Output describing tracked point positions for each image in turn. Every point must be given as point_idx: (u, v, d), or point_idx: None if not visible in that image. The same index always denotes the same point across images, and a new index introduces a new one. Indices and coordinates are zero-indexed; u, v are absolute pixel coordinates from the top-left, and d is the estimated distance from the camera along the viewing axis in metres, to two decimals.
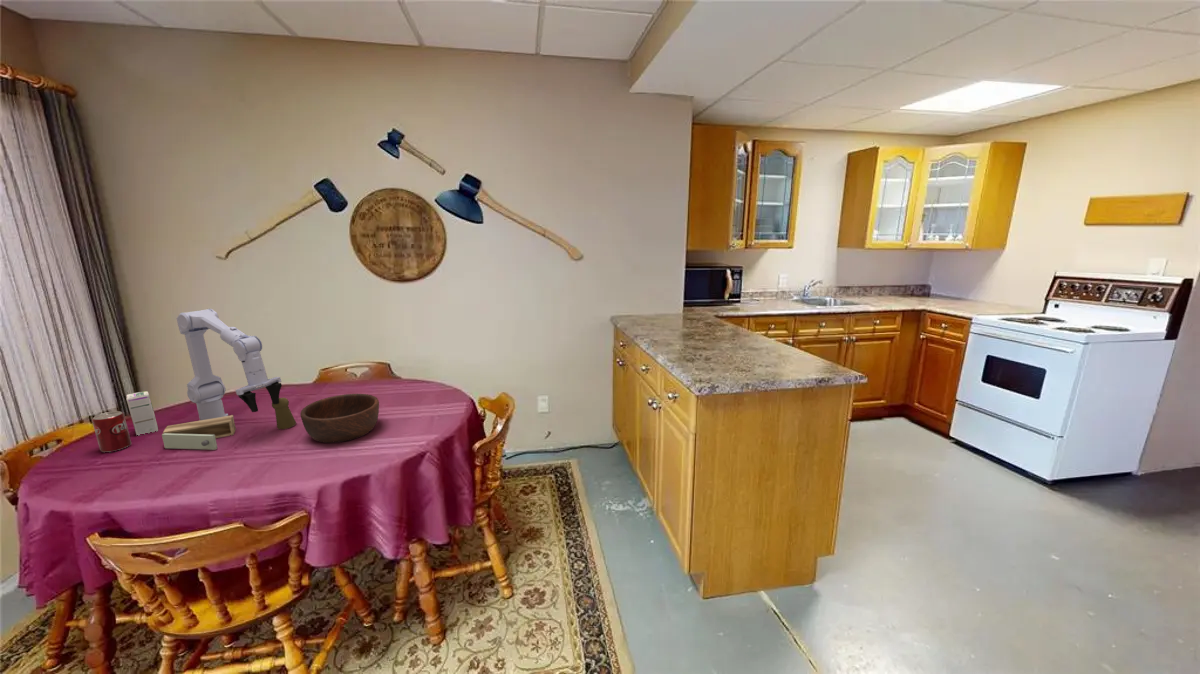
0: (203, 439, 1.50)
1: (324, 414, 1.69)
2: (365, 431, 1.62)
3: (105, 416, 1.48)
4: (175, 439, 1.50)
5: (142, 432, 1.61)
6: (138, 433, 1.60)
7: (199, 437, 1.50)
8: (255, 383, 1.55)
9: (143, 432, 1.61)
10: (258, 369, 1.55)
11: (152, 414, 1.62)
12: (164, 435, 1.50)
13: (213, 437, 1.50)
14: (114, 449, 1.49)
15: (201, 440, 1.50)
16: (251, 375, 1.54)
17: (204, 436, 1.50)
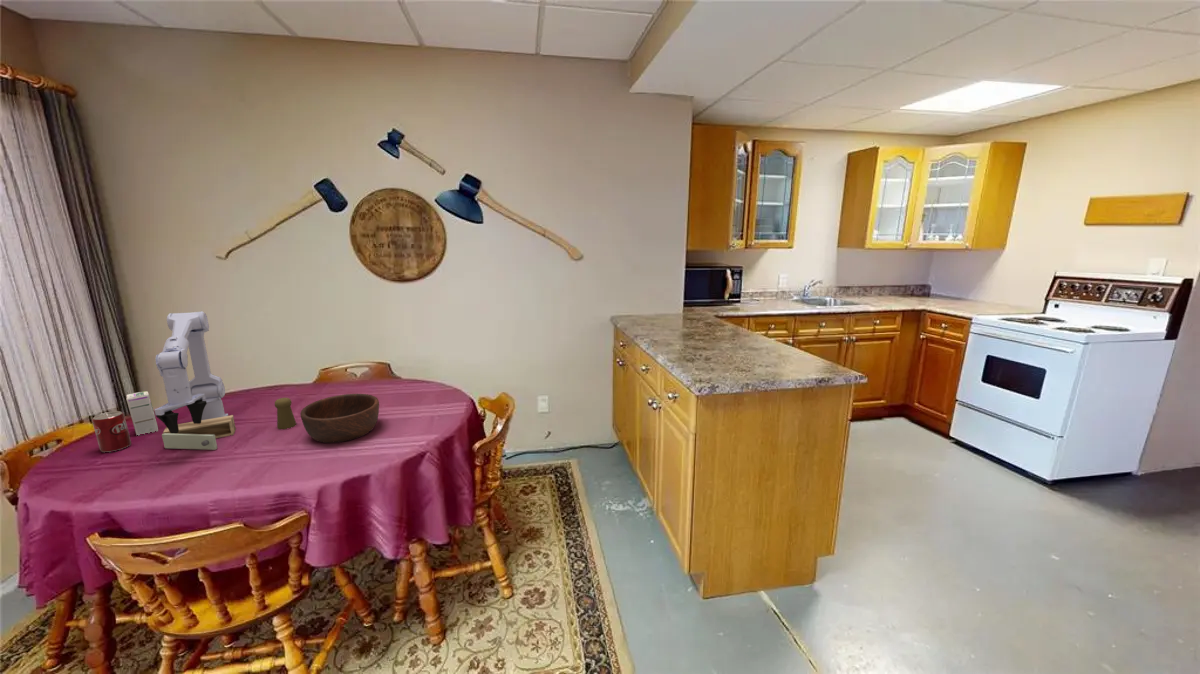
0: (203, 439, 1.50)
1: (324, 414, 1.69)
2: (365, 431, 1.62)
3: (105, 416, 1.48)
4: (175, 439, 1.50)
5: (142, 432, 1.61)
6: (138, 433, 1.60)
7: (199, 437, 1.50)
8: (178, 402, 1.41)
9: (143, 432, 1.61)
10: (172, 389, 1.40)
11: (152, 414, 1.62)
12: (164, 435, 1.50)
13: (213, 437, 1.50)
14: (114, 449, 1.49)
15: (201, 440, 1.50)
16: (174, 393, 1.40)
17: (204, 436, 1.50)
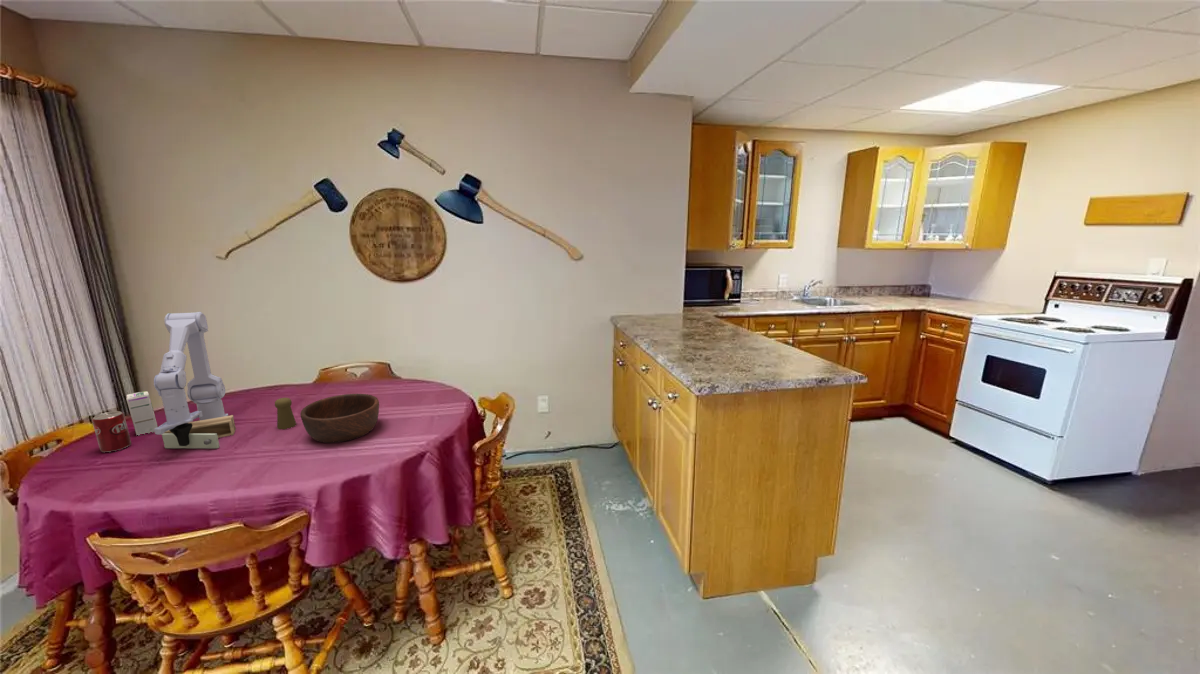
0: (205, 438, 1.50)
1: (324, 414, 1.69)
2: (365, 431, 1.62)
3: (105, 416, 1.48)
4: (176, 438, 1.50)
5: (142, 432, 1.61)
6: (138, 433, 1.60)
7: (201, 436, 1.50)
8: (177, 421, 1.46)
9: (143, 432, 1.61)
10: (170, 408, 1.44)
11: (152, 414, 1.62)
12: (164, 435, 1.50)
13: (215, 436, 1.51)
14: (114, 449, 1.49)
15: (203, 439, 1.51)
16: (173, 412, 1.45)
17: (206, 435, 1.50)
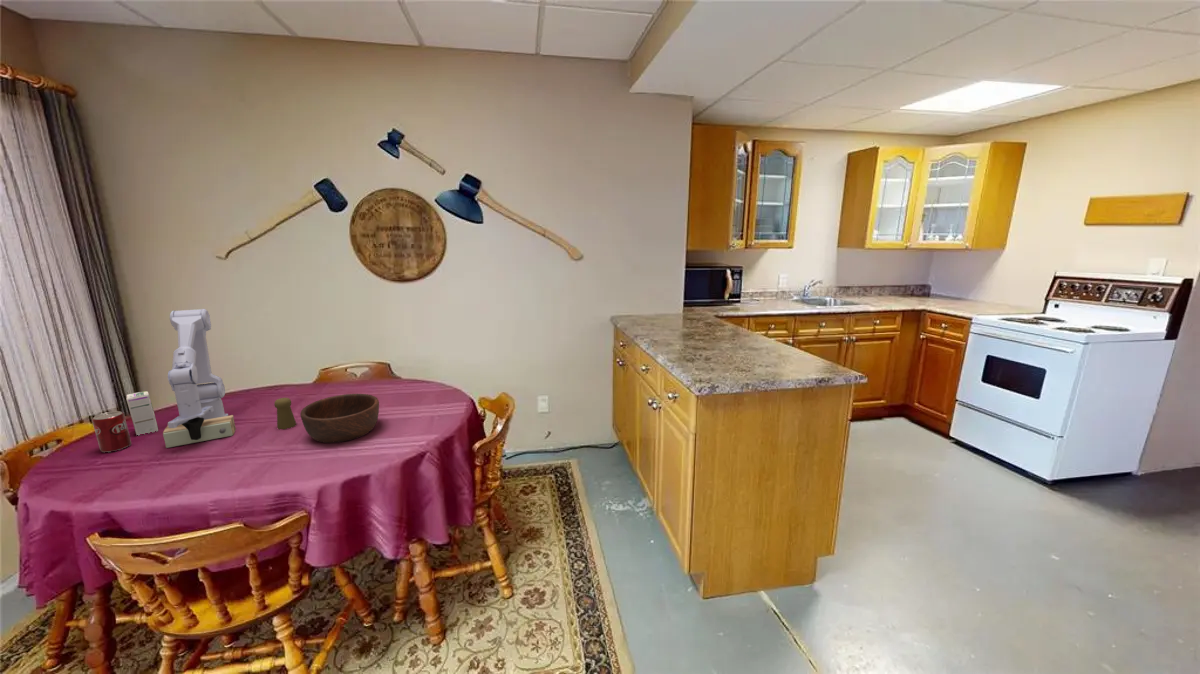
0: (218, 428, 1.58)
1: (324, 414, 1.69)
2: (365, 431, 1.62)
3: (105, 416, 1.48)
4: (182, 435, 1.53)
5: (142, 432, 1.61)
6: (138, 433, 1.60)
7: (213, 427, 1.57)
8: (189, 415, 1.50)
9: (143, 432, 1.61)
10: (183, 403, 1.48)
11: (152, 414, 1.62)
12: (166, 434, 1.51)
13: (230, 424, 1.60)
14: (114, 449, 1.49)
15: (215, 429, 1.58)
16: (186, 407, 1.49)
17: (219, 425, 1.58)
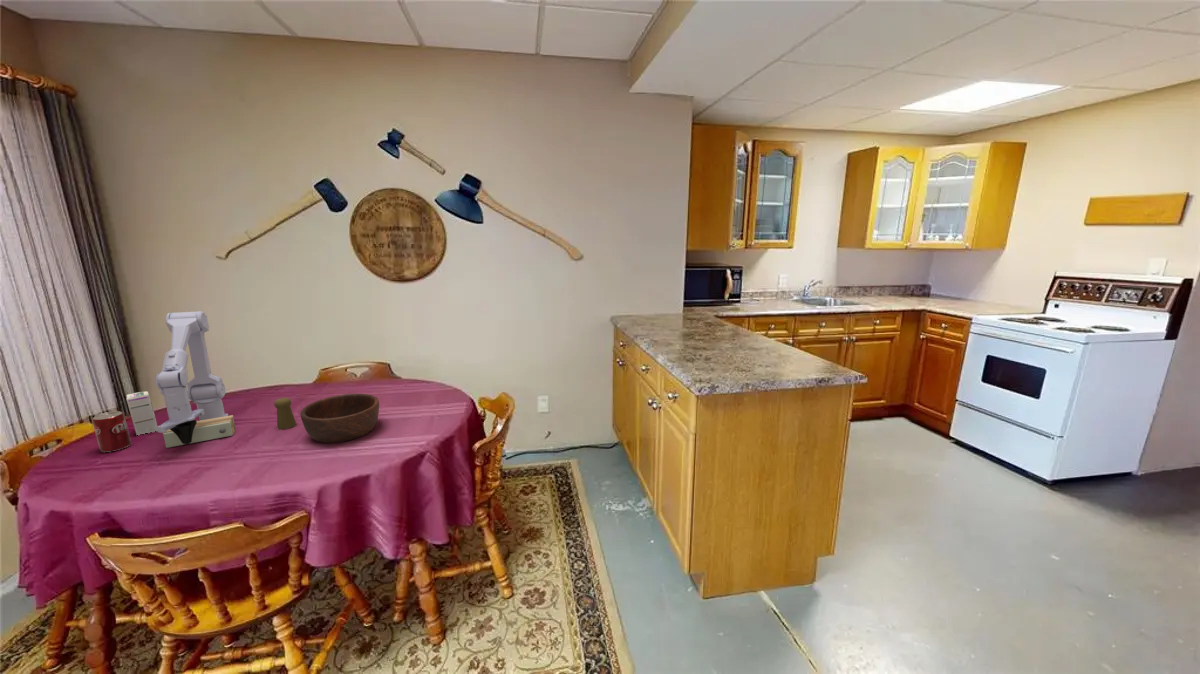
0: (218, 428, 1.58)
1: (324, 414, 1.69)
2: (365, 431, 1.62)
3: (105, 416, 1.48)
4: None
5: (142, 432, 1.61)
6: (138, 433, 1.60)
7: (213, 427, 1.57)
8: (179, 419, 1.46)
9: (143, 432, 1.61)
10: (172, 406, 1.45)
11: (152, 414, 1.62)
12: (166, 434, 1.51)
13: None
14: (114, 449, 1.49)
15: (216, 429, 1.58)
16: (175, 410, 1.45)
17: (219, 424, 1.58)
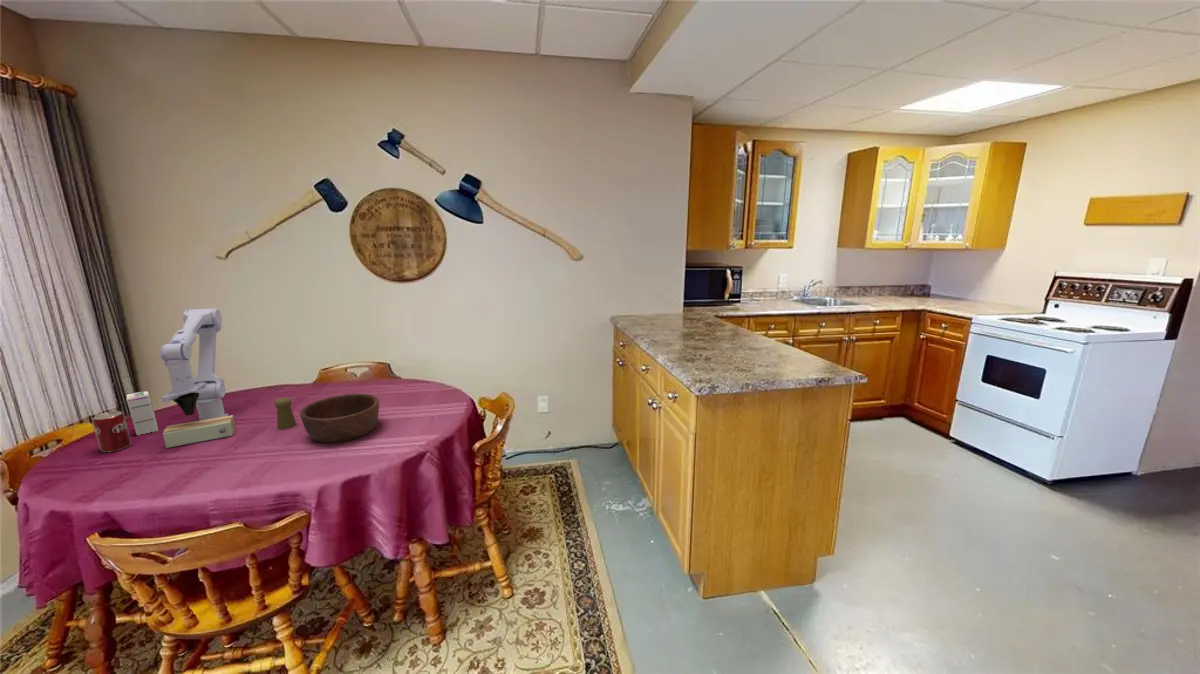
0: (218, 428, 1.58)
1: (324, 414, 1.69)
2: (365, 431, 1.62)
3: (105, 416, 1.48)
4: (182, 435, 1.53)
5: (142, 432, 1.61)
6: (138, 433, 1.60)
7: (213, 427, 1.57)
8: (182, 390, 1.52)
9: (143, 432, 1.61)
10: (175, 378, 1.50)
11: (152, 414, 1.62)
12: (166, 434, 1.51)
13: None
14: (114, 449, 1.49)
15: (216, 429, 1.58)
16: (179, 382, 1.51)
17: (219, 424, 1.58)
